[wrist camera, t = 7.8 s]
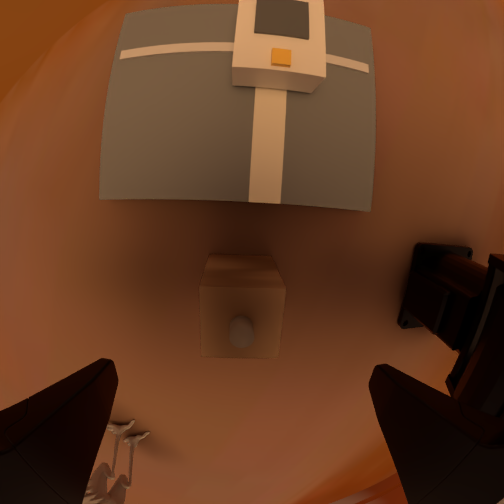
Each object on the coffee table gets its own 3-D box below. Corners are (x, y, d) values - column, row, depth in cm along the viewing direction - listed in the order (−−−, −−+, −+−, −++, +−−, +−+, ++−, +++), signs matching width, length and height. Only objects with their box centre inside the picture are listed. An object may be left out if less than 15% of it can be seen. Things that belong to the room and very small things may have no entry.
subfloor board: (361, 37, 13) (371, 26, 11) (359, 208, 16) (372, 212, 14) (133, 24, 11) (124, 12, 10) (110, 197, 15) (97, 200, 13)
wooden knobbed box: (271, 255, 16) (290, 298, 10) (266, 310, 17) (281, 371, 11) (209, 253, 16) (195, 296, 10) (209, 309, 17) (199, 369, 11)
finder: (311, 20, 11) (324, -5, 8) (311, 93, 12) (327, 75, 9) (239, 12, 10) (240, -16, 8) (232, 85, 12) (231, 64, 9)
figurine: (75, 397, 19) (15, 516, 4) (97, 386, 18) (31, 526, 4) (156, 461, 21) (137, 572, 7) (183, 454, 21) (170, 579, 6)
